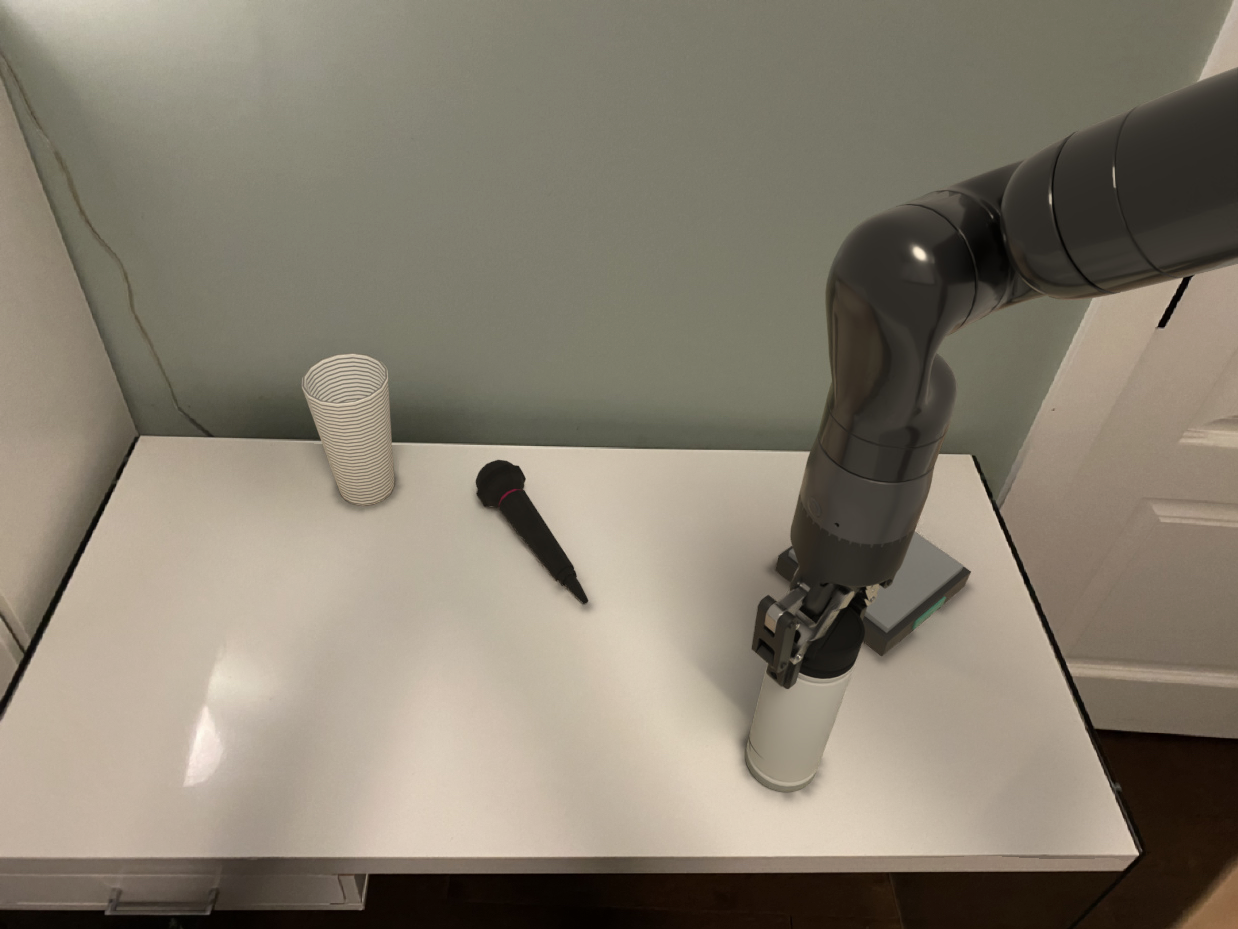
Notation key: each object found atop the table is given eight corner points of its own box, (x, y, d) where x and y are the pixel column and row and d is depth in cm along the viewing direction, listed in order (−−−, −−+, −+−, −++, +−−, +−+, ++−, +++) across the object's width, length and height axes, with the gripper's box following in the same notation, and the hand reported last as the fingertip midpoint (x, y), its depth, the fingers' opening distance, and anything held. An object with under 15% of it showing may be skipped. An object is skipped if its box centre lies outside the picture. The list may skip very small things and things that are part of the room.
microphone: (596, 613, 94) (501, 483, 104) (616, 576, 91) (516, 445, 101) (554, 627, 91) (460, 490, 101) (574, 589, 87) (474, 452, 97)
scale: (966, 587, 95) (975, 567, 93) (883, 658, 88) (891, 638, 86) (858, 510, 103) (864, 490, 100) (774, 570, 96) (779, 549, 93)
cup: (380, 523, 98) (358, 412, 88) (312, 501, 100) (283, 390, 90) (420, 473, 104) (404, 364, 94) (356, 453, 106) (333, 344, 96)
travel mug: (729, 770, 79) (763, 627, 65) (765, 715, 83) (804, 570, 69) (795, 810, 76) (844, 671, 63) (828, 752, 80) (881, 609, 67)
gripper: (833, 588, 52) (786, 742, 63) (976, 480, 59) (910, 636, 70) (738, 514, 56) (710, 671, 67) (882, 421, 63) (835, 577, 74)
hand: (812, 653), depth 69 cm, fingers closed on travel mug, 6 cm apart
